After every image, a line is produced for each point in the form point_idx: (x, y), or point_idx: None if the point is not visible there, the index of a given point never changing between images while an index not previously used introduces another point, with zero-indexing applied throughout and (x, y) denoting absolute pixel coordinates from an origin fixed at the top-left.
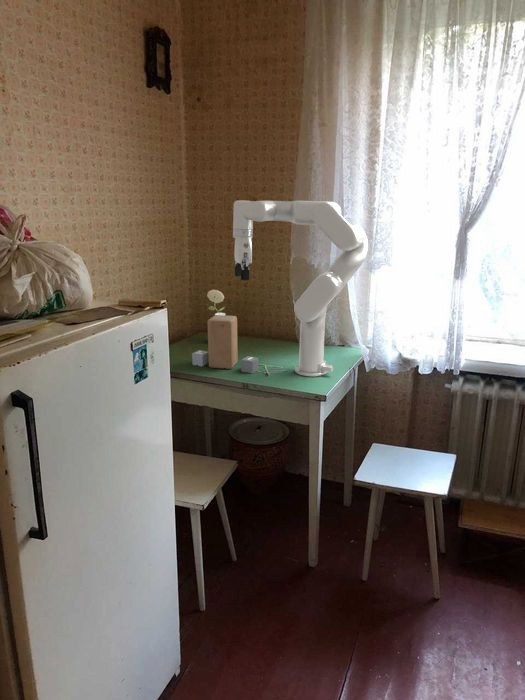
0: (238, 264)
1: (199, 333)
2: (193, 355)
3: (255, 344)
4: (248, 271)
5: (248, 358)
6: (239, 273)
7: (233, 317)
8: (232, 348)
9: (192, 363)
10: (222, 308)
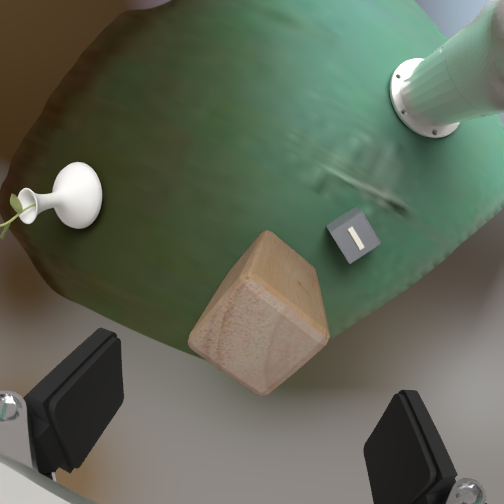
0: (45, 461)
1: (18, 216)
2: None
3: (131, 110)
4: (442, 465)
5: (350, 239)
6: (109, 382)
7: (273, 304)
8: (318, 286)
9: None
10: (15, 202)
